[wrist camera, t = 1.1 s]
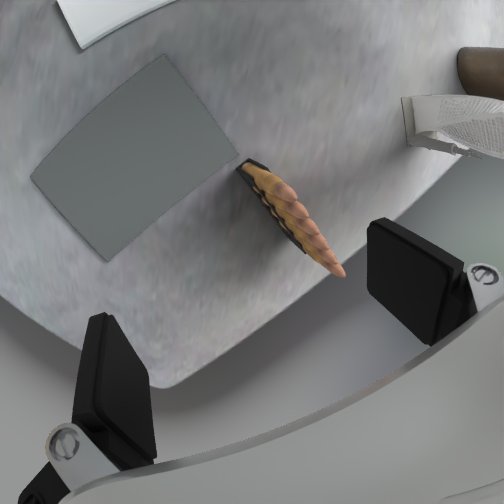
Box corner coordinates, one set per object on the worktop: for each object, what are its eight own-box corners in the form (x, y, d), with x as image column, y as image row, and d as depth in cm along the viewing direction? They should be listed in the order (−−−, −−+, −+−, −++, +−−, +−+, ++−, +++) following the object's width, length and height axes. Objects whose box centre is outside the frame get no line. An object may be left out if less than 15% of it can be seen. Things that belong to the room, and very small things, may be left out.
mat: (164, 55, 23) (164, 54, 22) (237, 153, 29) (239, 154, 29) (31, 175, 23) (29, 176, 23) (108, 259, 30) (108, 262, 29)
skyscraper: (397, 87, 31) (599, 124, 7) (432, 85, 32) (603, 121, 8) (406, 146, 35) (590, 217, 11) (439, 137, 36) (598, 196, 12)
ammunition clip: (235, 168, 30) (278, 197, 20) (249, 157, 30) (299, 180, 20) (287, 237, 36) (340, 289, 25) (299, 228, 35) (356, 276, 25)
